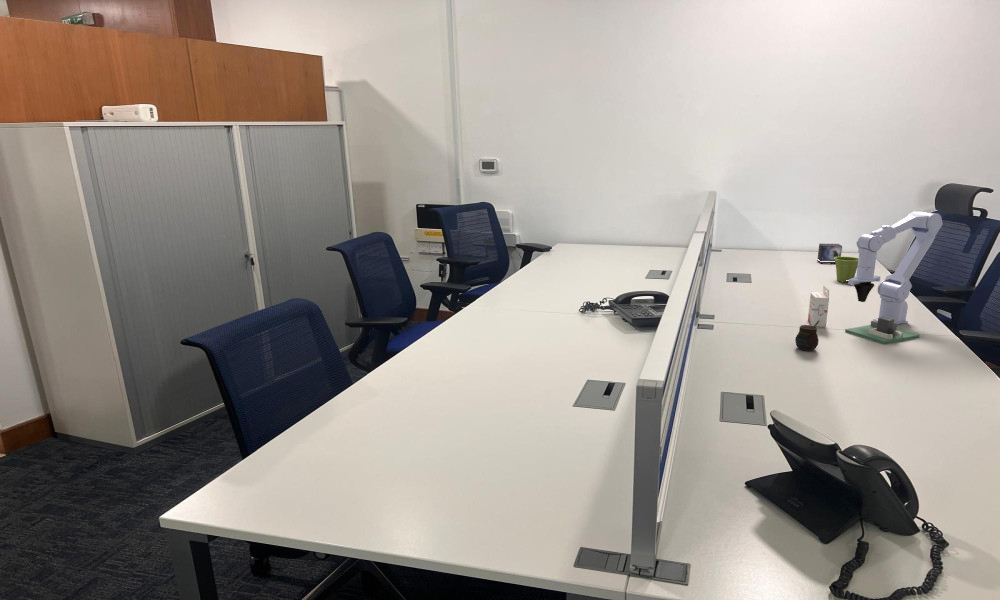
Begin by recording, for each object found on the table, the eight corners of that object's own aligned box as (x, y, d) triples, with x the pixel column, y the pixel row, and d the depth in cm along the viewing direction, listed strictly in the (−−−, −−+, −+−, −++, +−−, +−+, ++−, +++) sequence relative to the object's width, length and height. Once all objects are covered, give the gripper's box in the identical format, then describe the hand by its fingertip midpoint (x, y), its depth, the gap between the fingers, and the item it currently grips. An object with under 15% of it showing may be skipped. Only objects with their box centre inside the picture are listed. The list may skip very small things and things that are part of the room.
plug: (881, 332, 237) (883, 316, 235) (896, 336, 232) (898, 320, 230) (876, 333, 235) (878, 317, 234) (891, 337, 230) (893, 321, 229)
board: (878, 325, 248) (880, 317, 247) (919, 337, 233) (920, 328, 233) (844, 331, 241) (845, 323, 240) (884, 344, 227) (885, 335, 226)
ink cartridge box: (806, 320, 256) (810, 284, 252) (820, 321, 255) (824, 284, 251) (812, 326, 248) (816, 289, 244) (826, 327, 247) (830, 290, 243)
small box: (820, 263, 359) (822, 245, 357) (816, 261, 366) (818, 243, 363) (840, 264, 358) (842, 245, 355) (836, 261, 364) (838, 243, 361)
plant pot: (859, 279, 321) (862, 257, 318) (857, 284, 312) (860, 261, 309) (832, 277, 328) (835, 255, 325) (830, 281, 318) (832, 259, 315)
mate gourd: (789, 347, 225) (792, 319, 223) (805, 344, 228) (808, 317, 226) (806, 353, 219) (809, 325, 216) (822, 350, 222) (826, 322, 219)
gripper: (870, 262, 249) (865, 296, 253) (843, 266, 244) (838, 301, 248) (887, 266, 243) (882, 301, 247) (859, 269, 238) (854, 305, 241)
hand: (861, 301), depth 247 cm, fingers closed
